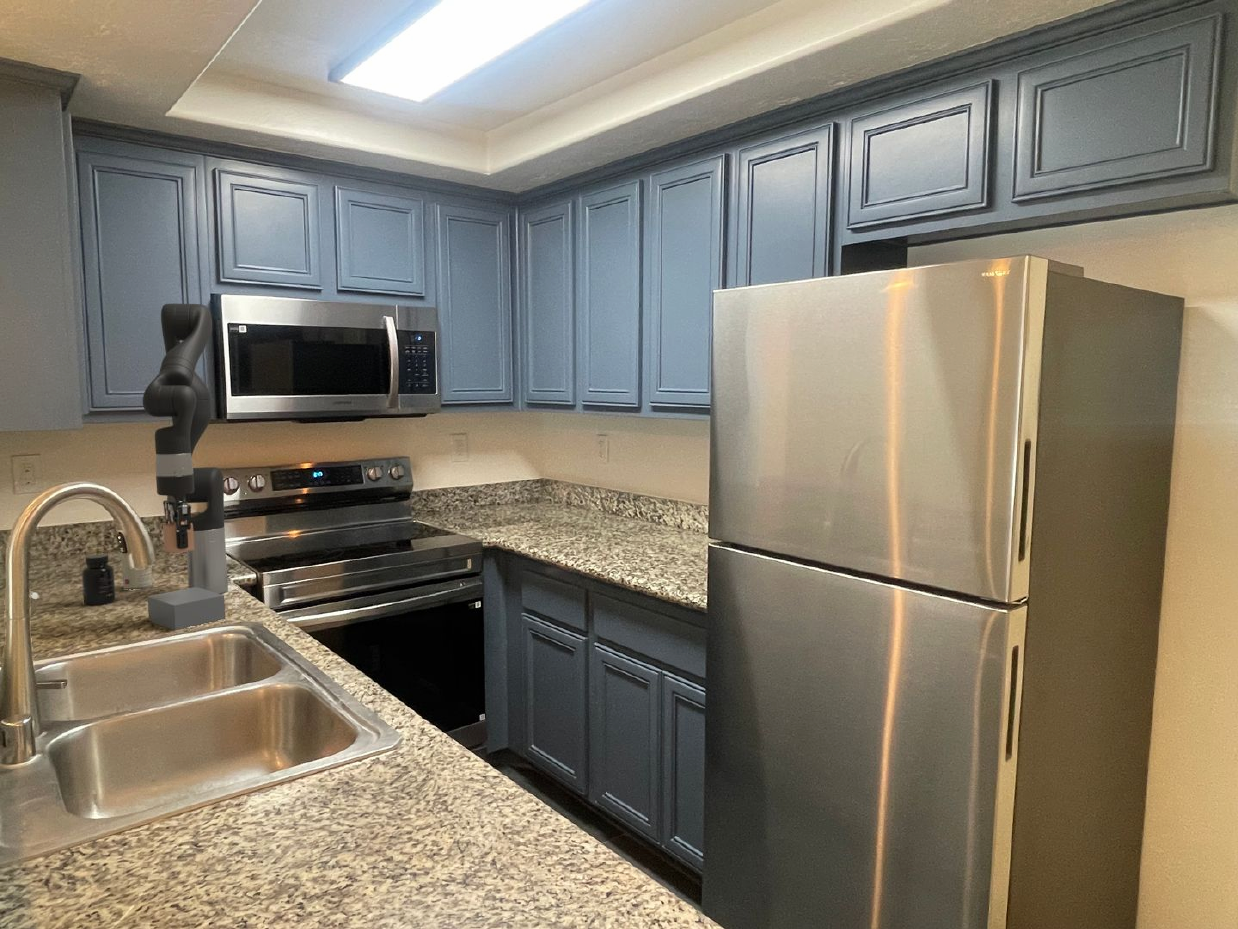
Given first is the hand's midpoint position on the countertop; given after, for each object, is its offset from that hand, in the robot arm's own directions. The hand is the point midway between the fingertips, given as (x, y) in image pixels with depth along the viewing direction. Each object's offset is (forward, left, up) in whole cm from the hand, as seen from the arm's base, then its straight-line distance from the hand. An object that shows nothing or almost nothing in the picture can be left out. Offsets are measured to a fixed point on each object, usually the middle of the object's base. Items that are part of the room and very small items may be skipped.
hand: (179, 546), depth 184 cm
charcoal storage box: (0, +1, -18) cm, 18 cm away
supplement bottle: (-34, -10, -18) cm, 39 cm away
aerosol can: (-45, +1, -18) cm, 48 cm away
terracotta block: (0, 0, -1) cm, 1 cm away
